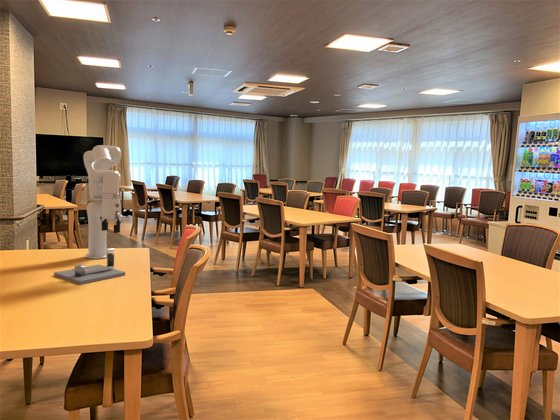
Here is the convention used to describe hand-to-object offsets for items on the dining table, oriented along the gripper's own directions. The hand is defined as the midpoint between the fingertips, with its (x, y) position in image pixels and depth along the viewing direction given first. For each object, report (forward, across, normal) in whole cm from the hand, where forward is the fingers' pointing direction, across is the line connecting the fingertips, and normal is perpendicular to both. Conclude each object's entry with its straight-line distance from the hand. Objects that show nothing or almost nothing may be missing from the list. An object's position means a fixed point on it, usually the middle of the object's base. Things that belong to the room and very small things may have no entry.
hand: (110, 231), depth 211 cm
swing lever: (+18, 0, +8) cm, 20 cm away
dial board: (+20, +2, +9) cm, 23 cm away
